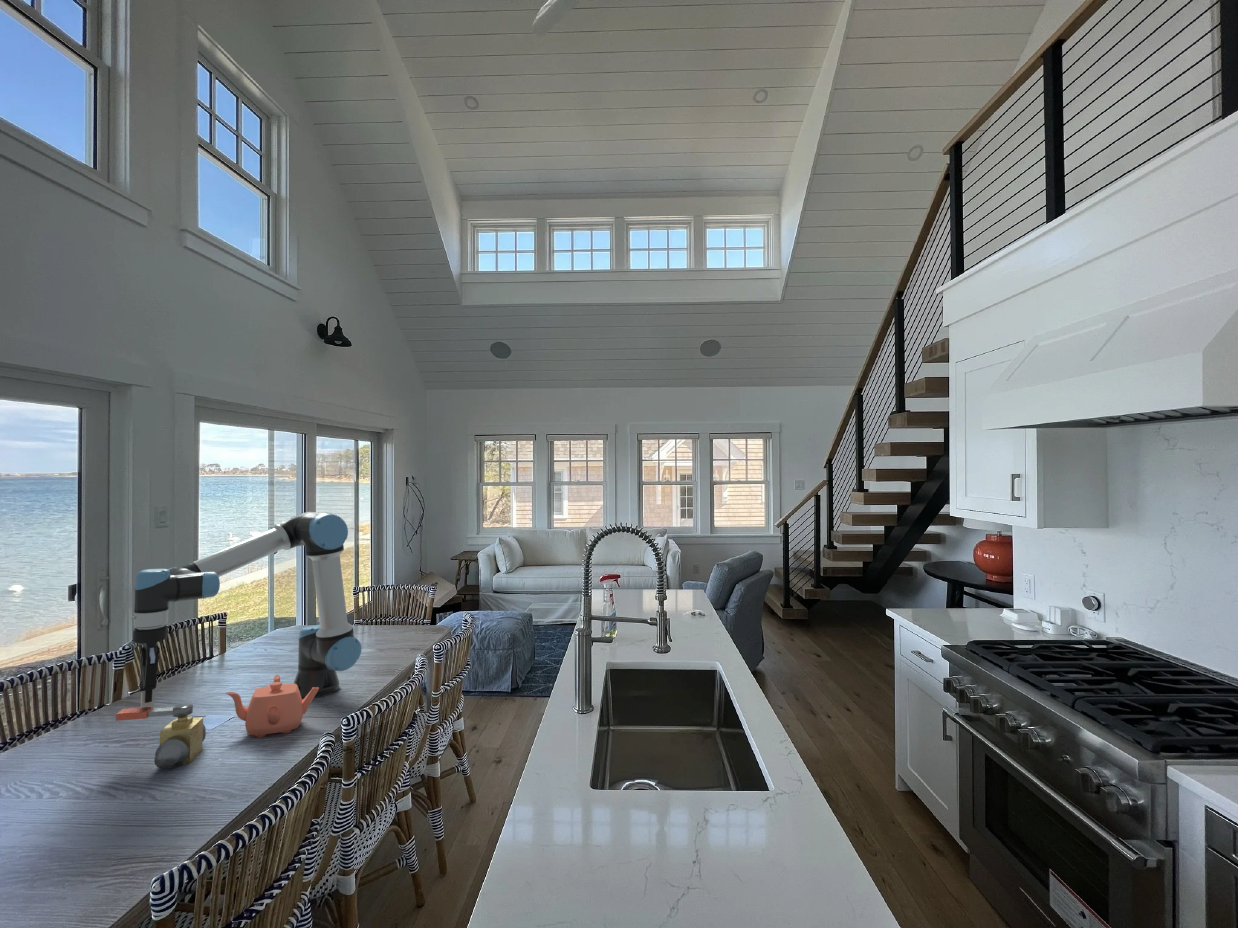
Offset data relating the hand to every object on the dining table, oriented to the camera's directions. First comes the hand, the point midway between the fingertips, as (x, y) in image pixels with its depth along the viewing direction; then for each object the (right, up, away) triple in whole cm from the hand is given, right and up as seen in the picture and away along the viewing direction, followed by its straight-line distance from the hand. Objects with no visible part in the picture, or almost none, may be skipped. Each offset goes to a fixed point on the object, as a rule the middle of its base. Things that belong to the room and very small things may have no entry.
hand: (147, 712), depth 164 cm
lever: (+5, +1, -3) cm, 6 cm away
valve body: (+11, -11, -2) cm, 16 cm away
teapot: (+24, -12, +17) cm, 32 cm away
